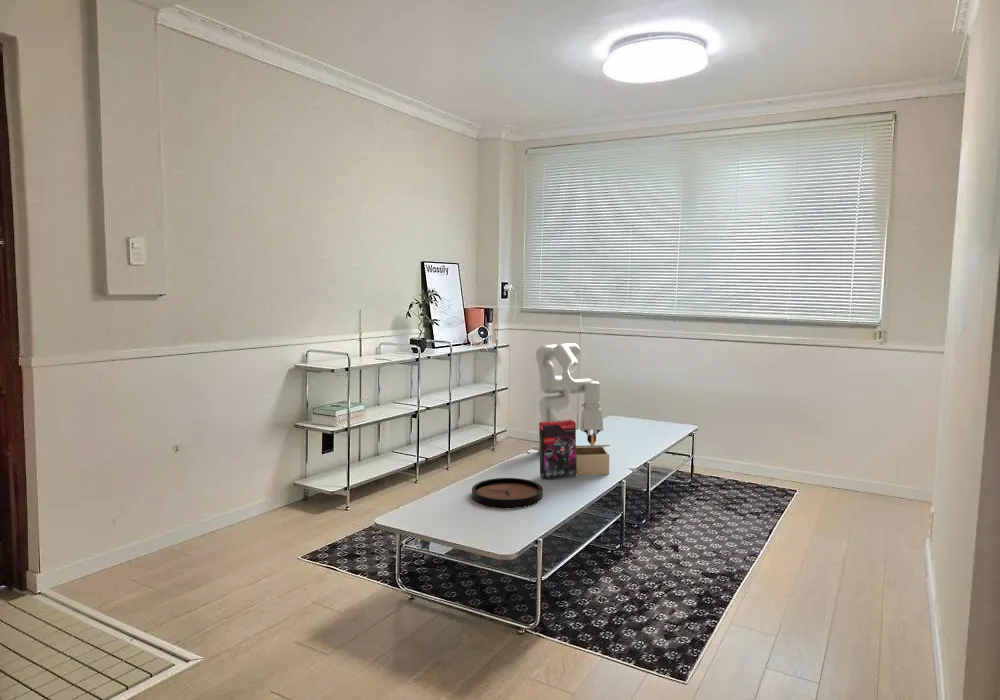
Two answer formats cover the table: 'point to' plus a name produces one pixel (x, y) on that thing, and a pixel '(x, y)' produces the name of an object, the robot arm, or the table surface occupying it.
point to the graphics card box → (557, 449)
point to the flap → (593, 443)
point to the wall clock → (507, 492)
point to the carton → (592, 461)
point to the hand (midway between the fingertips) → (591, 442)
